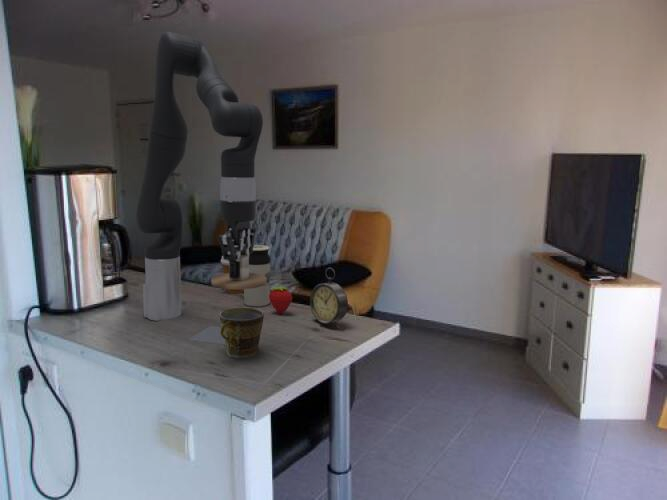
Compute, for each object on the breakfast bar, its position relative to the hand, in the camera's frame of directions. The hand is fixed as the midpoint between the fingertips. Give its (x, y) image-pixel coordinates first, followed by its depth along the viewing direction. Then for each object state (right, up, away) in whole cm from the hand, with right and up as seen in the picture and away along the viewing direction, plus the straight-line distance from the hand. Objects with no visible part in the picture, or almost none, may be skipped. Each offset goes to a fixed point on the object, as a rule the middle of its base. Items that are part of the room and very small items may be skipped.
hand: (238, 275), depth 112 cm
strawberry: (+6, -13, +35) cm, 38 cm away
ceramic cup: (-1, -19, +4) cm, 19 cm away
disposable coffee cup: (-12, -8, +60) cm, 62 cm away
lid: (0, -1, 0) cm, 2 cm away
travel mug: (-3, -11, +46) cm, 47 cm away
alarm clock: (+20, -15, +27) cm, 37 cm away
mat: (-8, -16, +16) cm, 24 cm away
